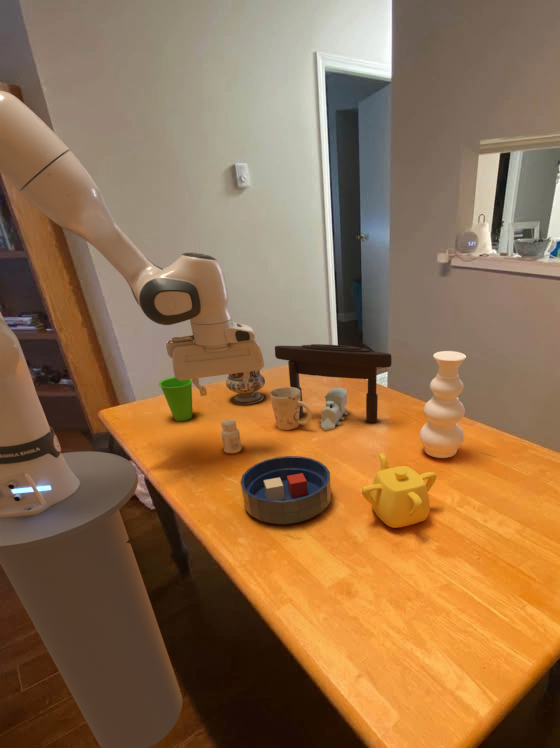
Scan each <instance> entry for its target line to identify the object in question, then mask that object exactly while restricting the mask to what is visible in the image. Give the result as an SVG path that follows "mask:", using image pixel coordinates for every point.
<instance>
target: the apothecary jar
mask: <svg viewBox="0 0 560 748" xmlns="http://www.w3.org/2000/svg"><path fill="white" fill-rule="evenodd" d="M244 377H245V376H244V374H243V372H242V373H234V374H228V377H227V378H226V379H225V386H226V388H227V389H228V390H229V391H231V392H233V393H236V395H234V396H233V397H232V398H231V400H232V401H231V402H232V403H234V404H236V405H241V406H242V405H253V404H258V403H260V402H261V401H263V399H264V395H263V394H262V393H260V392H258V391H260V390H262V388H263V387H264V386H265V384H266V380H265V377H264V375H263V374H261V370H258V371H250V378H249V380H248V382H247V390H241V388H240V381H243V379H244Z"/></svg>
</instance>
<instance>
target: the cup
mask: <svg viewBox="0 0 560 748" xmlns="http://www.w3.org/2000/svg"><path fill="white" fill-rule="evenodd" d="M158 386H159V387H160V388H161V391H162V393H163V395H164V397H165V398H164V399H165V401H166V402H167V405H168V407H169V409H170V412H171V414H172V417H173V419H174V420H175V421H177V422H184V421H185V422H186V421H188V420H191V419H192V418H193V415H194V413H193V412H194V411H193V390H192V389H193V381H192V379H187V380H178V379H177V378H176V377H175V376H171V377H166V378H163V379H162V380H160V381H159V382H158Z"/></svg>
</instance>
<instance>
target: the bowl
mask: <svg viewBox="0 0 560 748" xmlns="http://www.w3.org/2000/svg"><path fill="white" fill-rule="evenodd" d="M300 473H303V475H304V477H305V479H306V481H307V492H308V495H304V496H299V497H294V498H292V497H291V495H290V493H289V490H288V483H287V476H290V475H295V474H300ZM279 477H280V479H281V481H282V484H283V487H284V497H285V499H284V500H268V499H267V497H266V495H265V488H264V480H268V479H273V478H279ZM239 483H240V490H241V494H242V500H243V505H244V509H245V511H246V512H247V513H248V514H249V516H251V517H252V518H254V519H256V520H258V521H260V522H264V523H267V524H272V525H294V524H299V523H303V522H306V521H308V520H311V519H313V518H315V517H316V516H318V515H321V514H322V512H324V510H326V509H327V508H328V506H329V505H330V503H331V500H332V488H331V487H332V486H331V485H332V484H331V472H330V470H329V468H328V467H327V466H326V465H325V464H324V463H322V462H321V461H319V460H317V459H314V458H311V457H307V456H300V455H298V456H297V455H285V456H284V455H283V456H276V457H272V458H268V459H264V460H262V461H259V462H258V463H255V464H253V465H252V466H250V467H249V468H247V469H246V471H245V472H243V474H242V475H241V479H240V482H239Z"/></svg>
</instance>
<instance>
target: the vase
mask: <svg viewBox="0 0 560 748" xmlns="http://www.w3.org/2000/svg"><path fill="white" fill-rule="evenodd" d="M432 357H433V359H434V360H435V362H436V363H437V365H438V370H437V373H436V375H435V377H434V378H432V380H431V381H430V383H429V389H430V391H431V392H432V394H433V395H432V397H431V398H430V399H429V400H428V401H427V402H426V403H425V405H424V407H423V414H424V416H425V418H426V419H427V420H428V422H426V423H425V424H424V425H423V426H421V428H420V431H419V441H420V443H421V445H422V446H423V447H424V448H423V450H424V452H425V453H426V455H428V456H430V457H433V458H437V459H448V458H452V457H454V456H455V455H456V454H457V452H458V449H460V447H461V446H462V445H463V444H464V441H465V440H464V439H465V434H464V432H465V431H464V430H463V429H462V427H461V426H460V425H459V424H458V423H460V422H461V421H462V420H463V418H464V417H465V414H466V409H465V406H464V404H463V403H462V401H460V397H458V396H460V394H462V392H463V390H464V383H463V380H461V378H460V375H459V368H460V366H461V365H462V363H464V361H465V360H466V359H467V356H466V354H464V353H462V352H460V351H456V350H455V351H454V350H442V351H437V352H434V354H433V356H432Z"/></svg>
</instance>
